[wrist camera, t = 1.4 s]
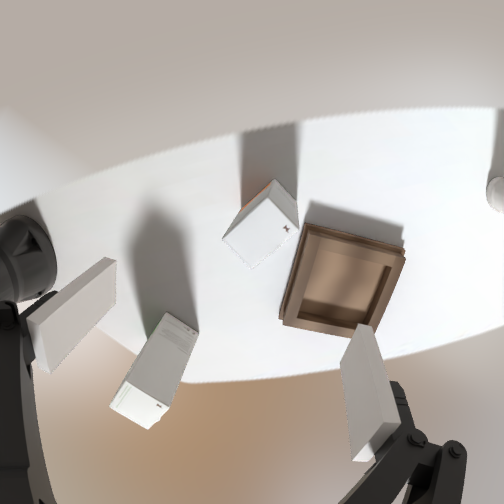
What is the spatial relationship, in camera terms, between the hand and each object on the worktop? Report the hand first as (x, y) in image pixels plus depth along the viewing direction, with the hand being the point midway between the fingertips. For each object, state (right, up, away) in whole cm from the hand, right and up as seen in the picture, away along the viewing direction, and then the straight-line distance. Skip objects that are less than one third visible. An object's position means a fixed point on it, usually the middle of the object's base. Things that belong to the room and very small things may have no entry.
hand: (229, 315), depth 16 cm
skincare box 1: (-11, -10, +33) cm, 36 cm away
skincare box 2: (+3, +9, +24) cm, 26 cm away
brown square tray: (+13, -1, +26) cm, 29 cm away
